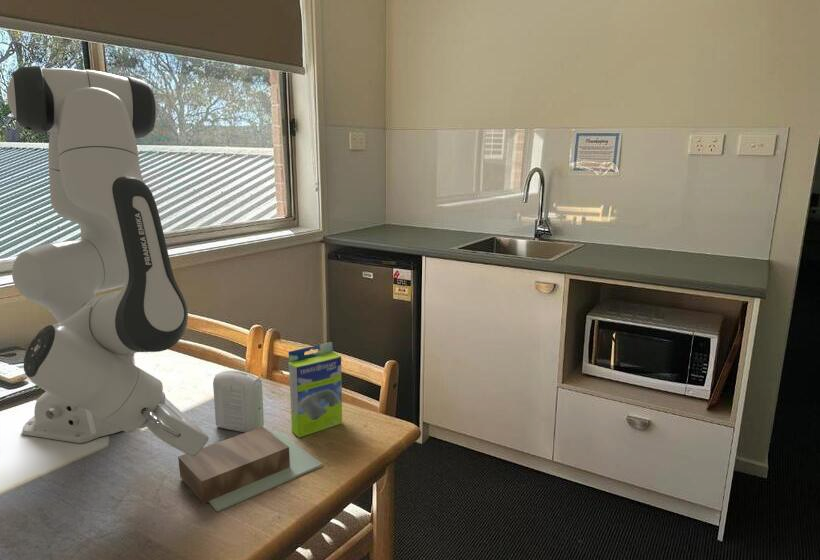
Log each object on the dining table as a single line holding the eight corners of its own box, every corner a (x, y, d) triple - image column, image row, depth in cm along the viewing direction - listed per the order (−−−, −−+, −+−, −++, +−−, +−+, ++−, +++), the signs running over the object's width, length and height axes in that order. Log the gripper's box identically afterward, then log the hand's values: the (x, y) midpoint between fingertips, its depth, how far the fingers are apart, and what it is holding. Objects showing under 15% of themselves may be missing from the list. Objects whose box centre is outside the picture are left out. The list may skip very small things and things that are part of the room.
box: (299, 439, 113) (295, 357, 109) (289, 430, 116) (286, 351, 112) (344, 423, 119) (342, 346, 115) (334, 416, 122) (332, 340, 118)
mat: (217, 511, 90) (217, 509, 90) (179, 469, 102) (179, 467, 102) (322, 465, 103) (322, 463, 103) (278, 433, 115) (278, 431, 115)
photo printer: (267, 426, 118) (264, 371, 115) (256, 436, 114) (252, 379, 111) (225, 419, 121) (221, 365, 118) (212, 428, 117) (208, 372, 114)
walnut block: (201, 481, 91) (289, 447, 101) (178, 456, 98) (262, 426, 108) (203, 503, 92) (290, 467, 102) (180, 477, 99) (263, 445, 109)
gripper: (171, 405, 80) (240, 444, 88) (126, 364, 94) (189, 401, 103) (141, 444, 78) (215, 480, 86) (100, 396, 92) (167, 431, 101)
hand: (201, 436), depth 95 cm, fingers closed
